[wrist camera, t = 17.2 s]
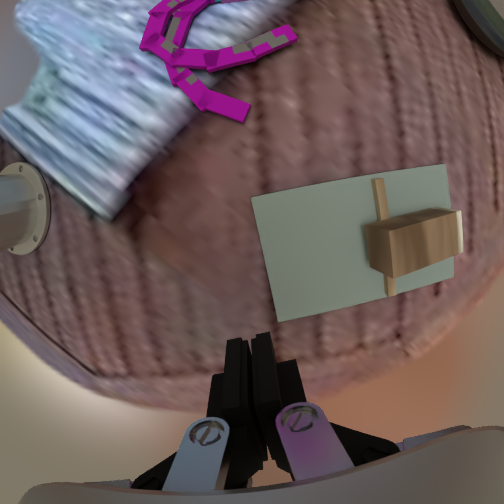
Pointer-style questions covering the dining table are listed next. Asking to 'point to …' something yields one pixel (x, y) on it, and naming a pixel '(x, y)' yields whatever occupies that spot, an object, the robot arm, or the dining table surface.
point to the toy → (204, 54)
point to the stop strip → (382, 214)
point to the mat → (340, 239)
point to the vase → (484, 21)
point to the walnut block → (414, 240)
